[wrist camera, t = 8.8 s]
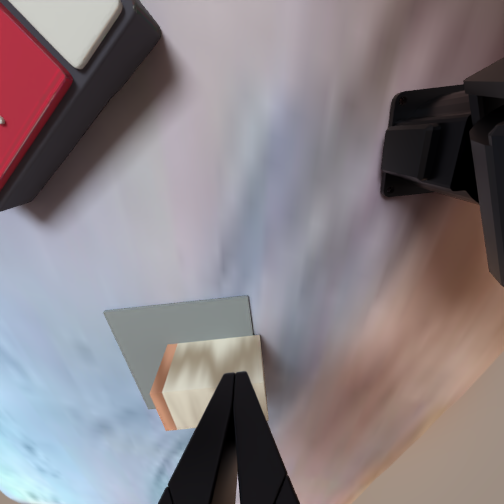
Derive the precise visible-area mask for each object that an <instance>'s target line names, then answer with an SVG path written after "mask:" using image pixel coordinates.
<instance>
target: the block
mask: <svg viewBox="0 0 504 504" xmlns="http://www.w3.org/2000/svg"><path fill="white" fill-rule="evenodd" d="M240 371H246V372H247V373H248V376H249V378H250V381H251V383H252V386H253V388H254V391H255V393H256V396H257V398H258V401H259V403H260V406H261V408H262V411H263V413H264V416H265V418H266V421H269V420H268V409H267V397H266V386H265V375H264V365H263V358H262V350H261V342H260V335H253V336H244V337H234V338H225V339H215V340H206V341H196V342H187V343H177V344H168V345H167V347H166V350H165V353H164V355H163V358H162V361H161V364H160V366H159V369H158V372H157V375H156V377H155V380H154V383H153V386H152V388H151V391H150V396H151V398H152V401H153V403H154V405H155V407H156V410H157V412H158V414H159V416H160V418H161V421H162V423H163V425H164V427H165V430H166V431H169V430H179V429H189V428H196V427H197V425H198V423H199V421H200V419H201V417H202V415H203V413H204V411H205V409H206V407H207V405H208V403H209V401H210V399H211V398H212V396H213V394H214V392H215V390H216V388H217V386H218V384H219V382H220V380H221V378H222V376H223V374H224V373H230V372H234V373H235V374H236V372H240Z"/></svg>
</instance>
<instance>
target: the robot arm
mask: <svg viewBox="0 0 504 504" xmlns="http://www.w3.org/2000/svg"><path fill="white" fill-rule="evenodd" d="M463 82H464V84H463V85H455V86H446V87H438V88H429V89H421V90H413V91H404V92H401V93H398V94H396V95H395V96H394V98H393V99H392V103H391V111H390V119H389V127H388V129H387V130H386V133H385V142H384V150H383V158H382V167H381V169H382V170H383V176H382V184H381V193H382V195H384V196H386V197H394V196H403V195H412V194H421V193H430V192H437V193H441V194H444V195H448V196H451V197H455V198H458V199H462V200H465V201H468V202H472V203H475V204H479V205H480V212H481V219H482V226H483V233H484V240H485V247H486V254H487V260H488V266H489V272H490V273H491V274H492V275H493V276H494V277H495V279H496V280H497V281H498V282H499V283H500V284H501V285H502V286H503V287H504V58H502V59H500V60H498V61H497V62H495V63H493V64H491V65H489V66H488V67H486V68H484V69H482V70H481V71H479V72H477V73H475V74H473V75H472V76H470V77H468V78H466V79H465V80H464V81H463ZM401 97H402V98H403V104H402V105H400V104H399V100H400V98H401ZM389 187H391V190H390V191H389V192H387V189H388V188H389ZM237 473H238V481H239V493H240V504H300V502H299V500H298V497H297V495H296V493H295V490H294V488H293V485H292V483H291V480H290V478H289V476H288V475H287V471H286V468H285V466H284V463H283V461H282V458H281V456H280V453H279V451H278V448H277V446H276V443H275V441H274V438H273V436H272V433H271V431H270V428H269V426H268V423H267V421H266V418H265V416H264V413H263V411H262V408H261V406H260V403H259V401H258V398H257V396H256V393H255V391H254V388H253V386H252V383H251V381H250V378H249V376H248V373H247V372H246V371H240V372H236V374H235V373H234V372H230V373H224V374H223V376H222V378H221V380H220V382H219V384H218V386H217V388H216V390H215V392H214V394H213V396H212V398H211V399H210V401H209V403H208V405H207V407H206V409H205V411H204V413H203V415H202V417H201V419H200V421H199V423H198V425H197V427H196V429H195V431H194V433H193V435H192V437H191V439H190V441H189V443H188V445H187V447H186V449H185V451H184V453H183V455H182V457H181V459H180V461H179V463H178V465H177V467H176V469H175V471H174V473H173V475H172V477H171V479H170V481H169V483H168V487H166V488H165V490H164V492H163V494H162V496H161V498H160V500H159V502H158V504H235V500H236V486H237Z"/></svg>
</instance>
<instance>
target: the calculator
mask: <svg viewBox="0 0 504 504" xmlns="http://www.w3.org/2000/svg"><path fill="white" fill-rule="evenodd" d="M160 37H161V30H160V27H159V25H158V24H157V23H156V21H155V20H154V19H153V17H152V16H151V15H150V14H149V12H148V11H147V10H146V9H145V7H144V6H143V5H142V3H141V2H140V1H139V0H0V212H1V211H4V210H7V209H10V208H13V207H16V206H19V205H22V204H25V203H28V202H31V201H32V200H33V199H34V198H35V196H36V195H37V194H38V193H39V191H40V190H41V189H42V188H43V186H44V185H45V184H46V182H47V181H48V180H49V179H50V177H51V176H52V175H53V174H54V172H55V171H56V170H57V168H58V167H59V166H60V165H61V163H62V162H63V161H64V160H65V158H66V157H67V156H68V154H69V153H70V152H71V150H72V149H73V148H74V146H75V145H76V144H77V142H78V141H79V140H80V138H81V137H82V136H83V134H84V133H85V132H86V130H87V129H88V128H89V126H90V125H91V124H92V122H93V121H94V119H95V118H96V117H97V115H98V114H99V113H100V111H101V110H102V109H103V107H104V106H105V105H106V103H107V102H108V101H109V99H110V98H111V97H112V96H113V95H114V94H115V93H116V92H117V91H119V90H120V89H121V88H122V86H123V85H124V84H125V83H126V81H127V80H128V79H129V77H130V76H131V75H132V74H133V72H134V71H135V70H136V69H137V67H138V66H139V65H140V64H141V62H142V61H143V60H144V58H145V57H146V56H147V55H148V53H149V52H150V51H151V50H152V48H153V47H154V46H155V45H156V43H157V42H158V41H159V39H160Z"/></svg>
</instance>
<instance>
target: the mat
mask: <svg viewBox="0 0 504 504" xmlns="http://www.w3.org/2000/svg"><path fill="white" fill-rule="evenodd" d="M103 313H104V315H105V317H106V320H107V322H108V324H109V326H110V328H111V330H112V332H113V335H114V337H115V339H116V341H117V343H118V345H119V347H120V349H121V352H122V354H123V356H124V358H125V360H126V362H127V364H128V367H129V369H130V371H131V373H132V375H133V377H134V379H135V382H136V384H137V386H138V388H139V390H140V392H141V394H142V397H143V399H144V401H145V403H146V405H147V407H148V409H156V407H155V405H154V403H153V401H152V398H151V396H150V391H151V388H152V386H153V383H154V380H155V377H156V375H157V372H158V369H159V366H160V364H161V361H162V358H163V355H164V353H165V350H166V347H167V345H168V344H177V343H187V342H196V341H206V340H215V339H225V338H234V337H244V336H253V330H252V322H251V315H250V308H249V300H248V295H247V296H238V297H228V298H219V299H209V300H200V301H190V302H181V303H171V304H162V305H152V306H143V307H133V308H124V309H114V310H105V311H104V312H103Z"/></svg>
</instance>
